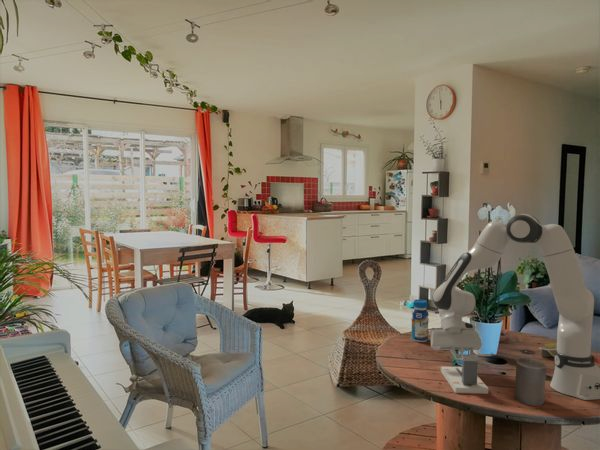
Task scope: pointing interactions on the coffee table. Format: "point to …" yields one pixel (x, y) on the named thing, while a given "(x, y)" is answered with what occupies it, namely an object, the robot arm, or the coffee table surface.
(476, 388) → the board
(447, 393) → the coffee table surface
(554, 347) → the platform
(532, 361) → the pillar candle
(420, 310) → the beverage bottle
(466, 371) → the fader tab
